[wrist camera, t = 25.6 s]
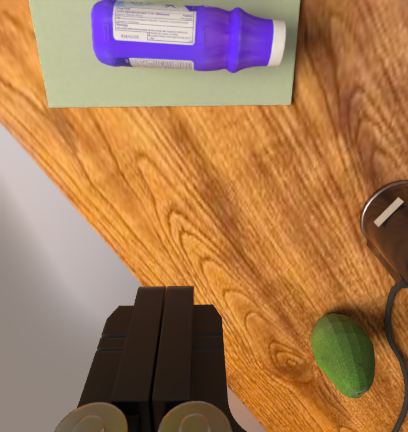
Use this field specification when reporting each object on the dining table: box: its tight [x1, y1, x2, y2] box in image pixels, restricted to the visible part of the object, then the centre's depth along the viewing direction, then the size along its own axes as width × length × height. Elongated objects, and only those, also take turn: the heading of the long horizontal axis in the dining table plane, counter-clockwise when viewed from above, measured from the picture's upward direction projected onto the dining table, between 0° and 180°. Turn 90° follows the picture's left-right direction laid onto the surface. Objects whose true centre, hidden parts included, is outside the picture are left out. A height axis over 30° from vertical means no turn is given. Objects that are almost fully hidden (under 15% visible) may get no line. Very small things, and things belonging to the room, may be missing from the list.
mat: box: [29, 0, 300, 108], centre depth 39 cm, size 14×27×1 cm, turn 91°
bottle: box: [91, 0, 286, 73], centre depth 35 cm, size 7×6×17 cm
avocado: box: [311, 313, 375, 398], centre depth 50 cm, size 8×8×12 cm
